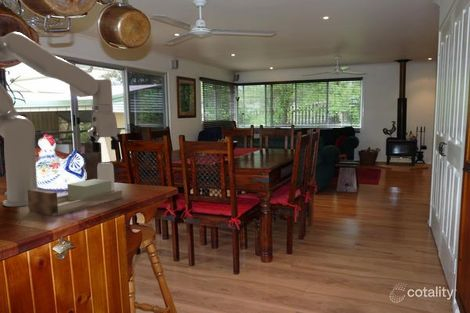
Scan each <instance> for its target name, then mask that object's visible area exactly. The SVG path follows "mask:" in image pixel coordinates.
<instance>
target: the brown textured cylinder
mask: <svg viewBox="0 0 470 313" xmlns="http://www.w3.org/2000/svg"><path fill="white" fill-rule="evenodd" d="M98 142H99V141H98ZM83 146H84V147H83V150H84V168H85V169H86V172H87V179H86V178H85V181H86V180H91V179H98V174H97V166H98V163H100V162H103V158H102V157H103V156H102V142H99V149H100V152H93V146H92V142H91V140H87V141H86V140H84V142H83Z"/></svg>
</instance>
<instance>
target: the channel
mask: <svg viewBox="0 0 470 313" xmlns="http://www.w3.org/2000/svg"><path fill="white" fill-rule="evenodd" d="M27 191H28V205H27V206H28V212H29V213H32V214H37V215H42V216H46V217H51V218H53V217H58V216H61V215H64V214H68V213H72V212H75V211H79V210H82V209H85V208H89V206H90V207H93V205H94V206H98V205H100V203H101V204H104V202H105V203H107V202H112V201H115V200H119V199H123V189H117V190H114V191H112V192H109V193H105V194H101V195H97V196H93V197H89V198H85V199H81V200H77V201H72V200H68V193H67V194H62V195H59V196H58V192H57V191H51V190H43V189H38V188H37V189H29V190H27Z"/></svg>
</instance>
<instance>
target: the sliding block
mask: <svg viewBox="0 0 470 313" xmlns="http://www.w3.org/2000/svg"><path fill="white" fill-rule="evenodd" d="M109 192H111V181H107V180H99V179H91V180H86V179H85V180H82V181H78V182H72V183H71V182H70V183H67V194H68V200H72V201H77V200H81V199H85V198H89V197H93V196H97V195H101V194H105V193H109Z"/></svg>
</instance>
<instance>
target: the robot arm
mask: <svg viewBox="0 0 470 313" xmlns="http://www.w3.org/2000/svg"><path fill="white" fill-rule="evenodd" d="M14 60H17V61H19V62H21V63H22V64H23V65H26V66H28V67H29V68H31V69H32V70H33V71H36V72H37V73H39V74H40V75H42V76H45V77H48V78H52V79H55V80H58V81H61V82H64V83H65V84H67V85H69V90H70V92H71V93H72V94H73V95H74V96H76V97H79V98H85V97H92V107H91V109H92V111H93V112H92V116H91V128H90V129H88V130H87V131H86V133H85V134H86V136H87V138H88V140H89V141H91V142H92V146H93V152H100V149H99V141H100V139H101V138H110V139H111V140H110V149H111V150H112V151H117V150H118V147H119V146H118V141H119V138H120V136H121V131H122V129H121V128H119V127H118V123H117V117H116V114H115V112H114V106H113V104H114V103H113V89H112V88H113V87H112V81H111V80H110V79H109V78H102V77H101V78H95V77H93V76H92V75H91V74H89V73H88V72H86V71H85V70H83V69H82V68H80V67H79V66H77V65H75V64H73V63H70V62H69V61H67V60H64V59H63V58H61V57H58V56H56V55H55V54H54V53H52V52H50V51H49V50H47V49H46V48H44V47H43V46H41V45H40V44H38V43H37V42H35V41H34V40H33V39H30V38H29V37H27V36H26V35H24V34H23V33H21V32H17V31H12V32H9V33H7V34H5V35H4V36H0V62H6V61H7V62H8V61H14ZM35 128H36V127H35V126H34V123H33V122H32V121H31V120H30V119H29V118H27V117H25V116H22V115H20V114H19V113H18V111H17V110H16V108H15V107H14V99H13V97H12V96H11V94H10V93H9V92H8V91H7V90H6V88H5V87H4V86H3V85H2V83H1V82H0V136H1V138H3V142H4V143H3V145H4V146H3V147H4V148H3V152H4V154H3V155H4V157H3V158H4V164H5V177H6V178H5V180H6V181H5V182H6V191H4V195H5V196H6V198H7V199H5V200H3V201H2V205H3V206H5V207H15V208H17V207H26V206H29V205H28V191H27V190H29V189H38V179H37V164H36V162H37V161H36V149H35V148H36V147H35V145H36V130H35Z"/></svg>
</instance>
